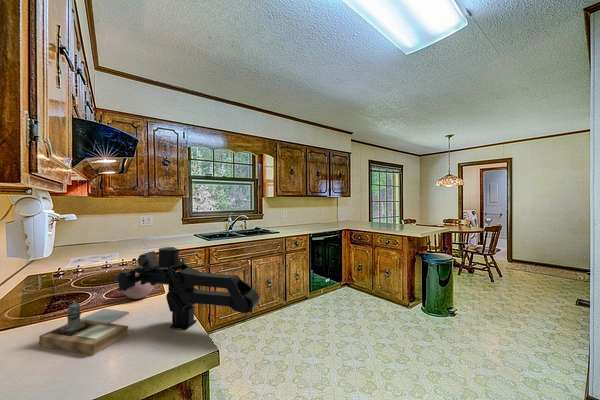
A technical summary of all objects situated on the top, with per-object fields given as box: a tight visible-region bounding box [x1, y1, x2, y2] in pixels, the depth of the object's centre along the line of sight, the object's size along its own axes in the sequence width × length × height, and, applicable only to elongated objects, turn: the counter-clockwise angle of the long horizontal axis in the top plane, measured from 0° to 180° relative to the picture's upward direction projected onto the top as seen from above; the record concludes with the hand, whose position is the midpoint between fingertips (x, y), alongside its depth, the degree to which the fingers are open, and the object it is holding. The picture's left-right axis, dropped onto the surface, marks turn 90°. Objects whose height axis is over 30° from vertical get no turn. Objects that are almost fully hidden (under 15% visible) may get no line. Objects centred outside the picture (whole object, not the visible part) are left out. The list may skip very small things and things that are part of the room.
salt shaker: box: [61, 299, 86, 336], centre depth 84 cm, size 6×6×12 cm
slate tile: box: [80, 308, 130, 324], centre depth 97 cm, size 12×12×1 cm
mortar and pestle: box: [122, 272, 155, 300], centre depth 117 cm, size 12×12×12 cm
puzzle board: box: [38, 318, 129, 356], centre depth 82 cm, size 20×12×3 cm, turn 78°
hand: (124, 273), depth 98 cm, fingers open, 9 cm apart
